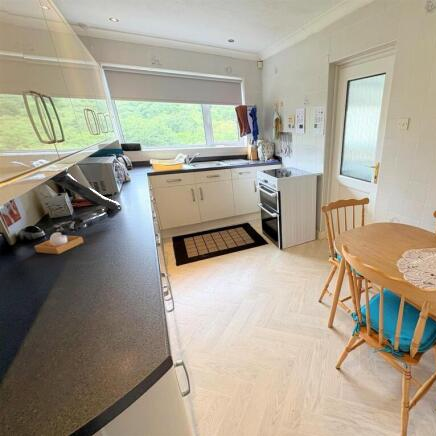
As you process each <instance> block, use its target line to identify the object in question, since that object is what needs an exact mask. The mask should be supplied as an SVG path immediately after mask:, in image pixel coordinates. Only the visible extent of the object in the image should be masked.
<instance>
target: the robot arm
mask: <svg viewBox="0 0 436 436" xmlns="http://www.w3.org/2000/svg"><path fill="white" fill-rule="evenodd" d="M48 181H51V182H53V183H54V184H57V185H59V186H61V187H63V188H65V189H67V190H69V191H71V192H73V193H74V194H76V195H77V196H79V197H80V198H82V199H83V200H85V202H88V203H89V204H91V205H92V206H94V207H96V209H94V210H91V211H88V212H83V213H82V214H79V215H76V216H73V217H72V219H71V220H70V221H61V222H58V223H56V224H52V225H51V227H50V228H47V229H45V233H46V234H47V235H50V234H54V233H56V232H58V231H60V232H59V233H61V235H65V236H66V235H68V234H70V233H74V232H75V233H78V232H80V231H83V230H85V229H88V228H91V227H92V226H95V225H96V224H98V223H102V222H103V221H107V220H111V219H113V218H115V217H117V216H118V214H120V213H121V211H122V210H123V207H122V205H121V204H120V203H118V202H117V201H114V200H112V199H109V198H107V197H105V196H103V195H101V193H99V192H97V191H96V190H95V189H92V188H90V187H88V186H86V185H84V184H82V183H80V182H79V181H78V180H76V179H74V177H72V175H70V174H69V169H68V168H67V169H66V170H65V171H63V172H61V173H60V174H58V175H56V176H54V177H53V178H51V179H49V180H48ZM99 207H104V208H99Z"/></svg>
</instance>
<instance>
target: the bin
mask: <svg viewBox="0 0 436 436" xmlns="http://www.w3.org/2000/svg"><path fill="white" fill-rule="evenodd" d="M65 236H66V237H67V240H68V241H67V243H66V244H63V245H61V246H59V247H55V246H53V245H52V244H51V243H50V239H49V240H46V241H44V242H42V243H39V244H36V245H34V249H35V251H36V253H42V254H54V255H59V254H62V253H64V252H66V251H68V250H70V249H73V248H75V247H77V246H79V245H81V244H84V239H83V236H76V235H65Z"/></svg>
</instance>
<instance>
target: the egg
mask: <svg viewBox="0 0 436 436" xmlns="http://www.w3.org/2000/svg"><path fill="white" fill-rule="evenodd" d="M66 236H67V235H66V234H65V235H61V232H58V231H56V232H53V233H51V235H50V237H49V240H50V243H51V244H52V245H53V246H55V247H59V246H61V245H63V244H66V243H67V241H68V240H67V237H66Z"/></svg>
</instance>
